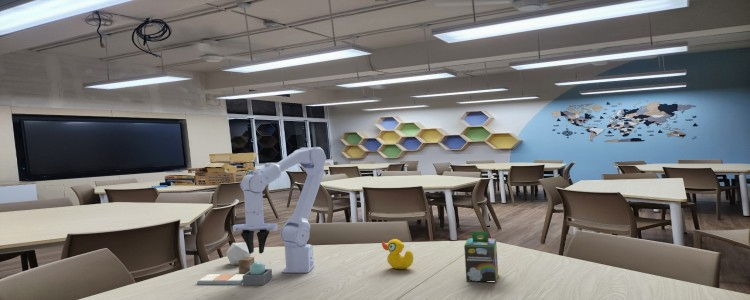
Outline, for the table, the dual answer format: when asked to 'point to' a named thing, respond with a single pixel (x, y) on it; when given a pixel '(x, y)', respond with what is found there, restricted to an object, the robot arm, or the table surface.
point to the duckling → (395, 257)
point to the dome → (257, 269)
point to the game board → (221, 279)
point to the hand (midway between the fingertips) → (256, 252)
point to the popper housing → (257, 278)
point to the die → (237, 252)
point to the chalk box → (481, 258)
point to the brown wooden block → (245, 264)
